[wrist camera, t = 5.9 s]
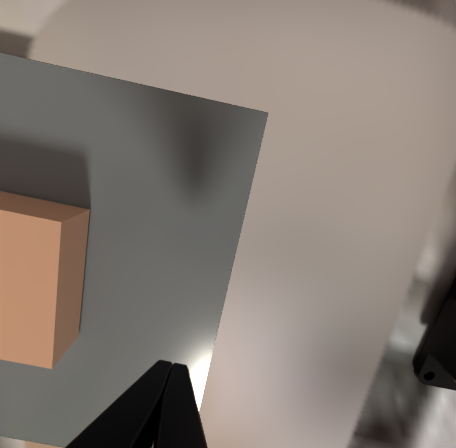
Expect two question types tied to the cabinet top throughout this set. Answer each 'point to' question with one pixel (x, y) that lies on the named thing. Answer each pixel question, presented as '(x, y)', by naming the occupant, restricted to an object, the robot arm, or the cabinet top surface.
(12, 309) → the tile
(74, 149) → the slate board
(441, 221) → the cabinet top surface
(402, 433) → the cabinet top surface
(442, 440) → the cabinet top surface
